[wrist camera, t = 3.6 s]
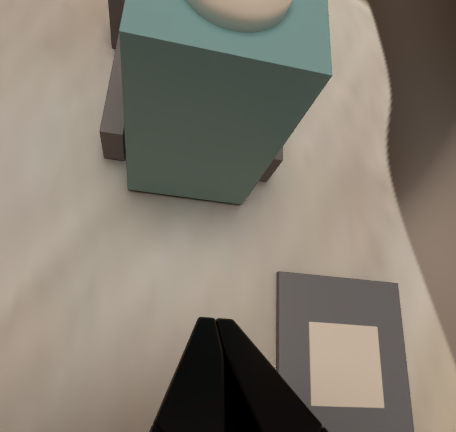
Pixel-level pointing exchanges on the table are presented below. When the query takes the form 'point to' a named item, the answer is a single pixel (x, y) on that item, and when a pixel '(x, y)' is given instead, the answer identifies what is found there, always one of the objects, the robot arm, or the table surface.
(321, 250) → the table surface
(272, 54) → the teal tall block
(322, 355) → the card
